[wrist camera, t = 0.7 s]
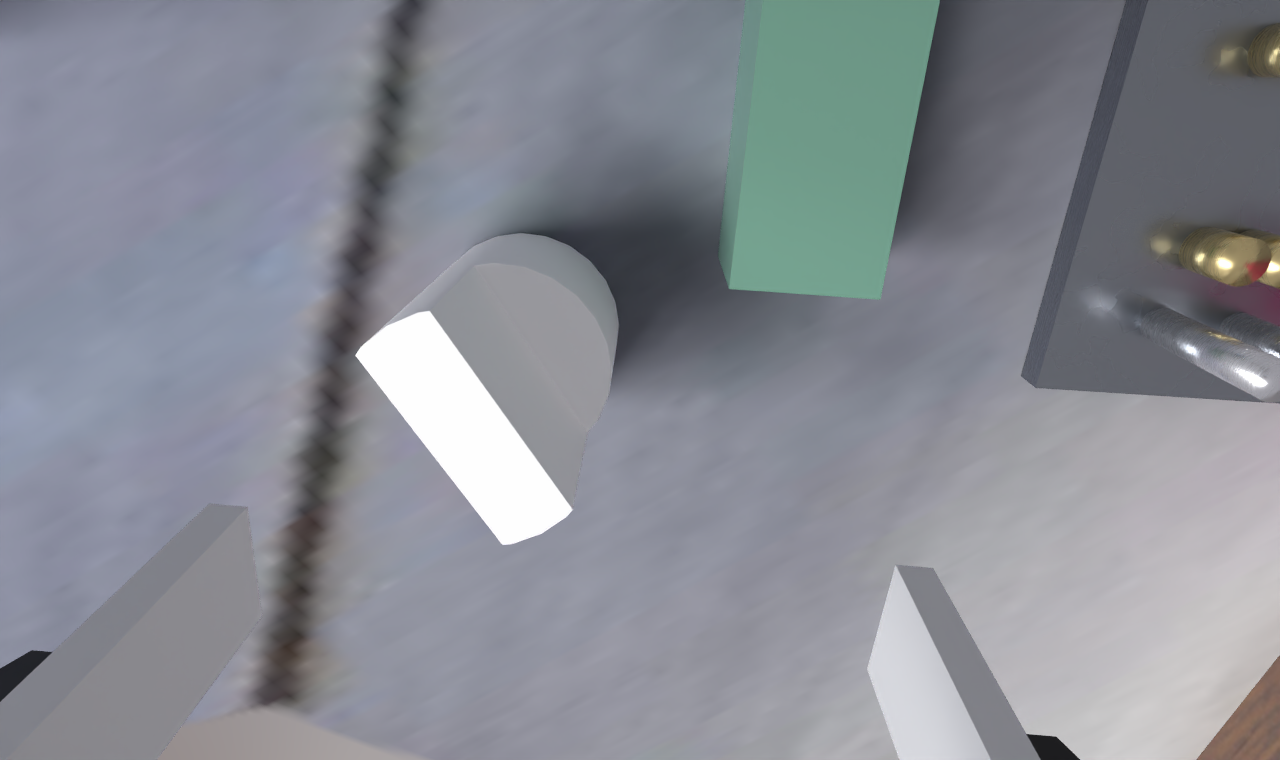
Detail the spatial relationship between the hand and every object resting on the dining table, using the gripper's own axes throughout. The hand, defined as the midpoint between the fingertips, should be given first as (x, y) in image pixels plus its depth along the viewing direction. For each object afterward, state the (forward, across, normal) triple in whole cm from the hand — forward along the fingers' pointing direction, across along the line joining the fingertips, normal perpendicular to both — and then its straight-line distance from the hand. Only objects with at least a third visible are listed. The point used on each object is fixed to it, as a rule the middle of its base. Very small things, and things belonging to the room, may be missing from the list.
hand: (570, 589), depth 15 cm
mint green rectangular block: (+22, +7, +8) cm, 25 cm away
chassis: (+22, +26, +9) cm, 35 cm away
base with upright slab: (+22, -4, -2) cm, 23 cm away
